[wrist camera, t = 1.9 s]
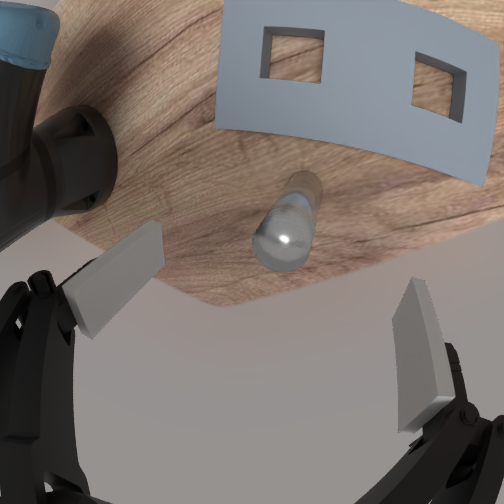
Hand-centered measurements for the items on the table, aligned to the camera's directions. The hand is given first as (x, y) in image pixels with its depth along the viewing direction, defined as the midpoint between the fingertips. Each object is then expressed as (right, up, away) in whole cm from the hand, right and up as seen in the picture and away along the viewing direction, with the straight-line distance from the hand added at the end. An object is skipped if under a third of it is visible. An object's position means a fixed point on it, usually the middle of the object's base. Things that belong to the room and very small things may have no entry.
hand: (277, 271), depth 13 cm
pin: (+4, +7, +12) cm, 14 cm away
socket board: (+8, +16, +5) cm, 19 cm away
